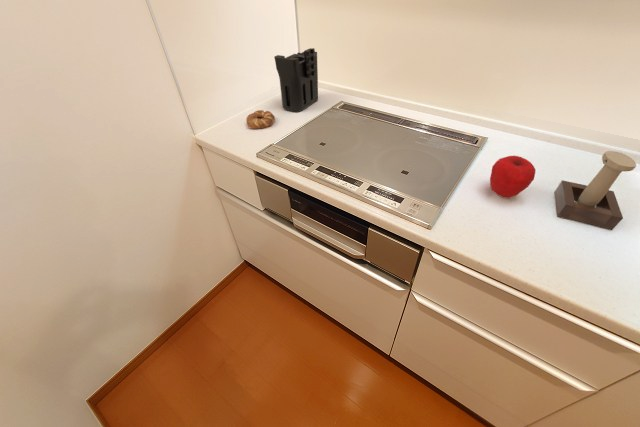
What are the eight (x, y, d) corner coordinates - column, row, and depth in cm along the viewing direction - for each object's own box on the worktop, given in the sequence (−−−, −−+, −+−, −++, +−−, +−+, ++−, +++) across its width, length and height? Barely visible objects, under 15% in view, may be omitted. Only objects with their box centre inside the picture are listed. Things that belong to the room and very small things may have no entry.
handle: (576, 217, 73) (616, 165, 63) (564, 201, 77) (600, 150, 67) (598, 219, 72) (642, 167, 62) (585, 202, 77) (623, 151, 67)
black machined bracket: (279, 109, 125) (272, 52, 110) (305, 93, 138) (302, 40, 123) (302, 115, 120) (298, 56, 106) (327, 98, 133) (327, 43, 119)
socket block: (603, 203, 76) (613, 191, 74) (612, 230, 69) (623, 218, 66) (554, 192, 80) (561, 180, 78) (557, 216, 73) (565, 204, 70)
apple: (484, 179, 85) (499, 145, 78) (522, 187, 82) (541, 153, 74) (481, 198, 79) (496, 164, 72) (521, 209, 75) (542, 173, 68)
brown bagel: (259, 133, 110) (258, 123, 107) (239, 125, 115) (237, 116, 112) (281, 121, 117) (280, 112, 114) (261, 114, 122) (260, 105, 119)
